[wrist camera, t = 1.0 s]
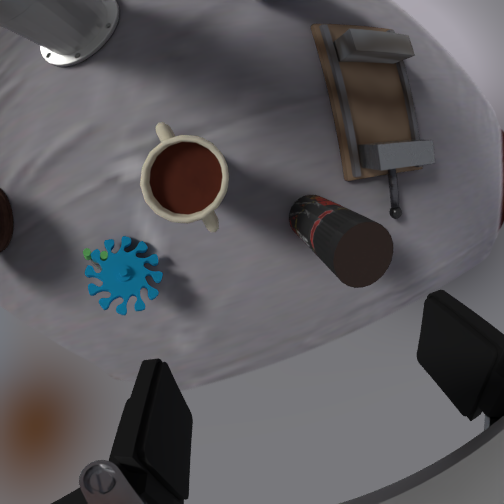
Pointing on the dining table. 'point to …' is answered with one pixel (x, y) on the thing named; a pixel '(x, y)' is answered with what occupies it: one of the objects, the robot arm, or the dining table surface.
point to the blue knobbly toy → (122, 274)
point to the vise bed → (366, 90)
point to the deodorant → (343, 240)
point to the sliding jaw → (396, 161)
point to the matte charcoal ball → (5, 221)
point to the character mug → (184, 178)
